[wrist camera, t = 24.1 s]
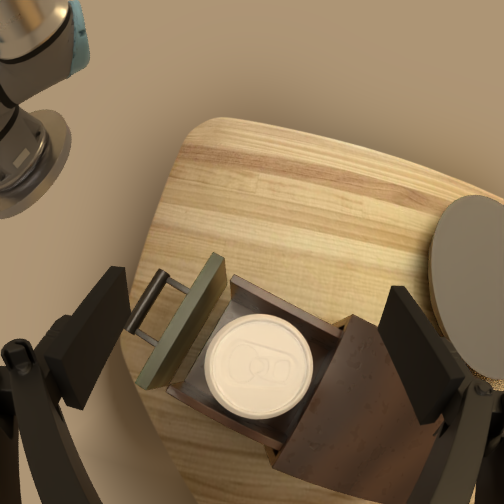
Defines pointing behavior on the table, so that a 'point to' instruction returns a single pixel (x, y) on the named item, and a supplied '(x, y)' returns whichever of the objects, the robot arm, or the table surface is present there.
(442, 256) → the flat disc
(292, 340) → the beverage can
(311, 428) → the cabinet
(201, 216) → the table surface
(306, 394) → the drawer
